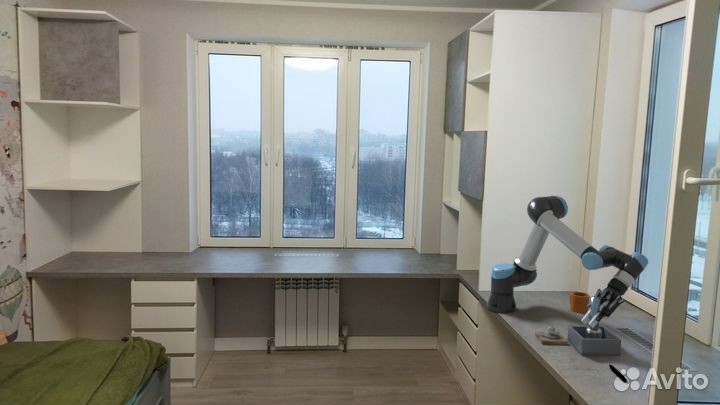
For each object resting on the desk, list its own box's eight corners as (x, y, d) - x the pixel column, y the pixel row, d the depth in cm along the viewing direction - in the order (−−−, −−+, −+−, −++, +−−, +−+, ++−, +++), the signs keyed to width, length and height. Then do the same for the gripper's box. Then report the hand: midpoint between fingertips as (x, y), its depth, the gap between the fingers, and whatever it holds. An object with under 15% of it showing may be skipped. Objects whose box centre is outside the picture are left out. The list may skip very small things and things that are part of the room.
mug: (580, 305, 281) (581, 289, 280) (591, 313, 269) (592, 296, 268) (564, 305, 280) (565, 289, 279) (574, 313, 269) (576, 296, 267)
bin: (567, 340, 233) (568, 325, 232) (603, 341, 232) (604, 326, 231) (581, 355, 217) (582, 339, 216) (620, 356, 216) (621, 339, 215)
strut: (583, 337, 227) (586, 295, 225) (597, 337, 227) (599, 295, 224) (589, 342, 221) (591, 299, 219) (603, 343, 221) (605, 299, 219)
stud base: (534, 334, 239) (535, 321, 239) (558, 335, 239) (559, 322, 238) (542, 344, 229) (542, 330, 228) (567, 344, 228) (568, 331, 227)
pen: (610, 367, 206) (611, 363, 206) (628, 383, 193) (628, 379, 192) (606, 367, 206) (607, 363, 206) (624, 383, 193) (624, 379, 192)
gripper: (640, 294, 218) (606, 336, 215) (610, 283, 234) (577, 323, 231) (631, 282, 216) (596, 325, 213) (601, 272, 232) (568, 312, 229)
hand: (587, 324), depth 222 cm, fingers closed on strut, 3 cm apart
